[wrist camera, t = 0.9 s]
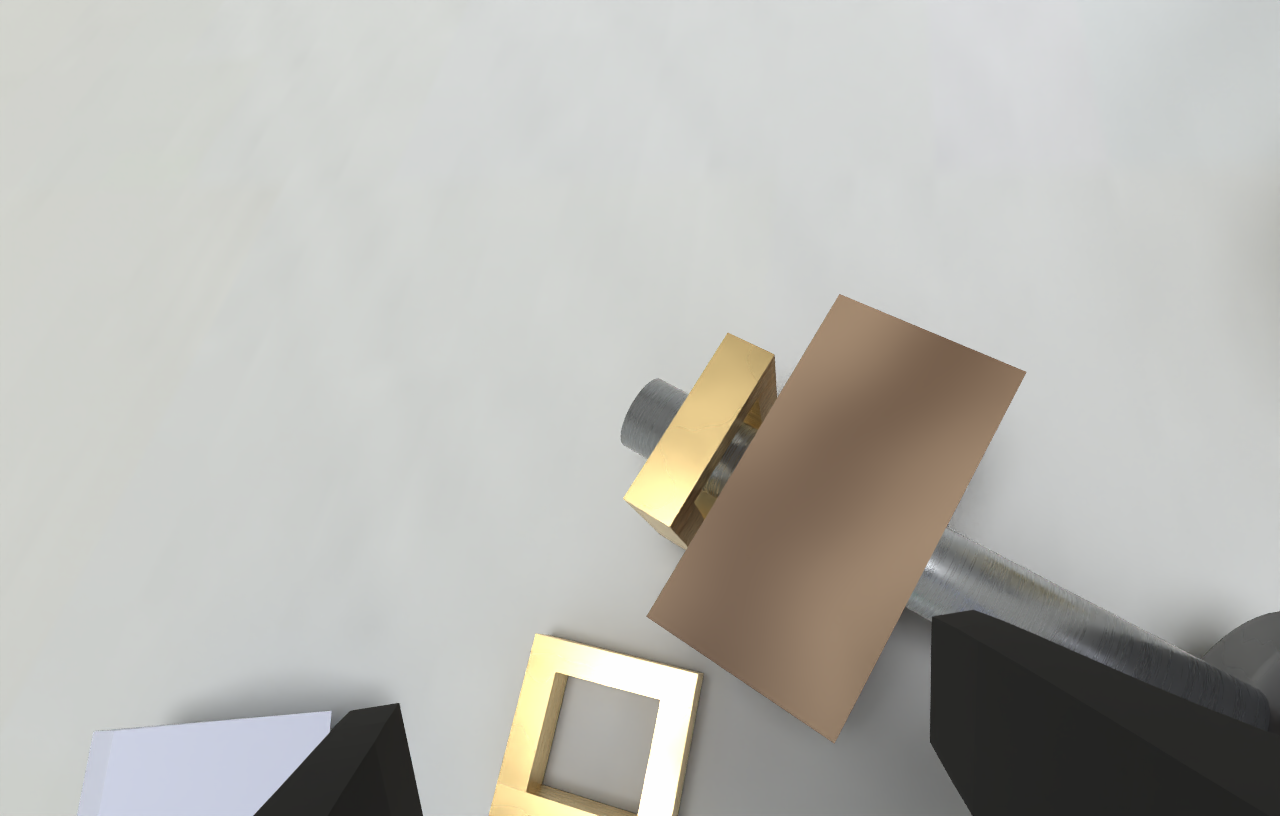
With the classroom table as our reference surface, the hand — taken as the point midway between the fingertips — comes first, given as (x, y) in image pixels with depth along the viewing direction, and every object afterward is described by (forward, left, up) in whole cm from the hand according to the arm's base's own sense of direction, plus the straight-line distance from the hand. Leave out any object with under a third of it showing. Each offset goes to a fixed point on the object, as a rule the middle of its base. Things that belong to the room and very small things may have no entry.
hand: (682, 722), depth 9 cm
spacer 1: (+3, +4, -14) cm, 15 cm away
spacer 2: (+4, -6, -13) cm, 15 cm away
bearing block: (0, -6, -14) cm, 15 cm away
